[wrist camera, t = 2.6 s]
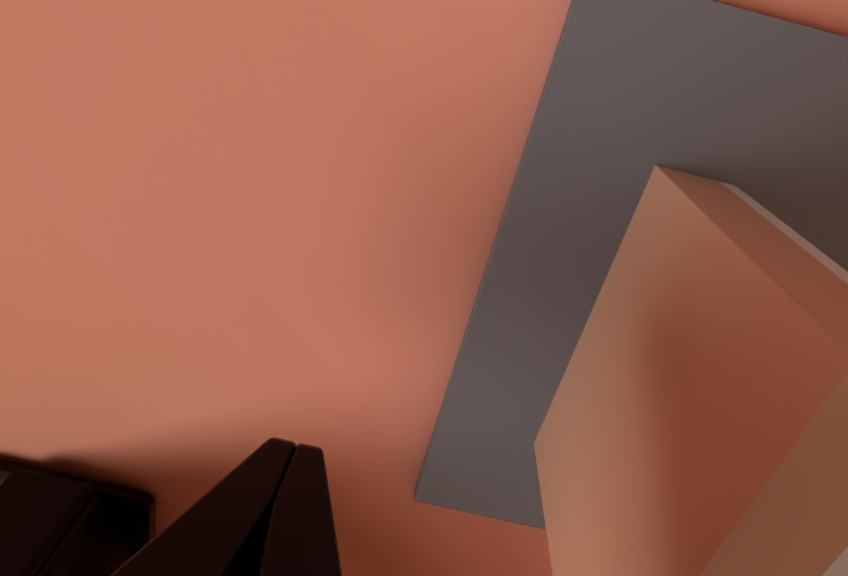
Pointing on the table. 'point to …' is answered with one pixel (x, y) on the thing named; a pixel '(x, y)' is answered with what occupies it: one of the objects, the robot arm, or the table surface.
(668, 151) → the mat
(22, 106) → the table surface
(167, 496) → the table surface
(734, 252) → the tile
